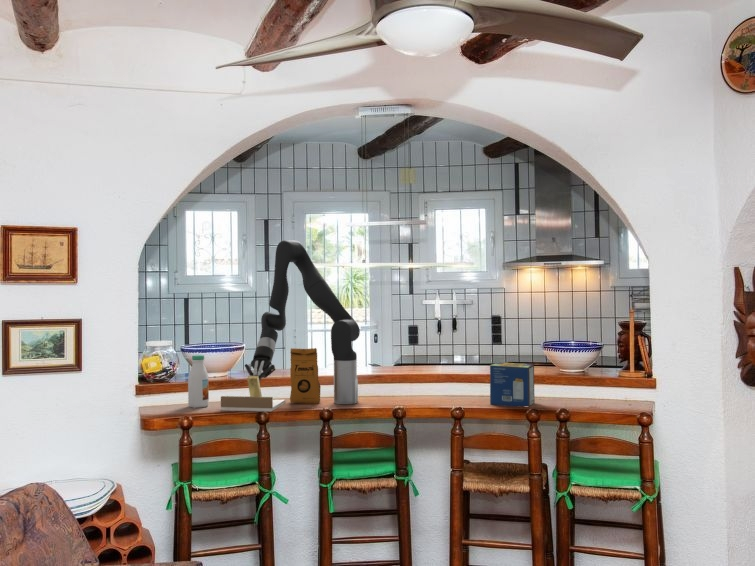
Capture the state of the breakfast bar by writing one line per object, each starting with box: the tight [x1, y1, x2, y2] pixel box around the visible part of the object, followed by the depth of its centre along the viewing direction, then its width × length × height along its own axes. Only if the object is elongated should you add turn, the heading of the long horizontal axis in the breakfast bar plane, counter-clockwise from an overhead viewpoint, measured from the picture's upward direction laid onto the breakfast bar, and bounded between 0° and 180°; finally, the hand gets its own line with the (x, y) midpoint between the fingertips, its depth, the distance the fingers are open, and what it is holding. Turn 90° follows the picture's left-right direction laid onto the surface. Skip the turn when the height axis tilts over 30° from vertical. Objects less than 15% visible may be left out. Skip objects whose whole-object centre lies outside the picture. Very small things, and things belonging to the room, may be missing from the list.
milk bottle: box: [187, 354, 210, 409], centre depth 257 cm, size 8×8×20 cm
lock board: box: [220, 395, 286, 412], centre depth 255 cm, size 20×18×5 cm
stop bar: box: [246, 375, 263, 397], centre depth 256 cm, size 4×2×11 cm, turn 82°
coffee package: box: [289, 347, 322, 405], centre depth 263 cm, size 10×12×22 cm
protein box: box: [489, 361, 536, 407], centre depth 258 cm, size 10×15×16 cm
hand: (255, 385), depth 257 cm, fingers closed
